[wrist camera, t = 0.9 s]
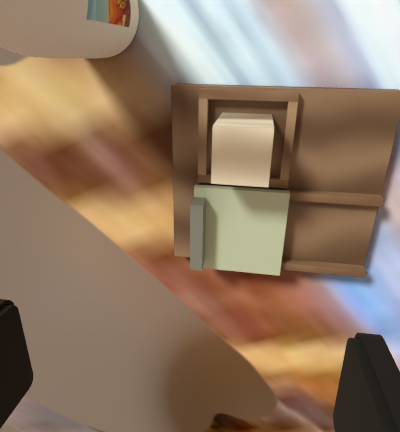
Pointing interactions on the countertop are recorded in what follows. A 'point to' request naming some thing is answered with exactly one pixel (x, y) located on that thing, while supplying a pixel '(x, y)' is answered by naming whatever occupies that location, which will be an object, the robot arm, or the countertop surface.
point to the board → (297, 164)
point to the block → (242, 149)
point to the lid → (238, 229)
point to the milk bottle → (68, 27)
